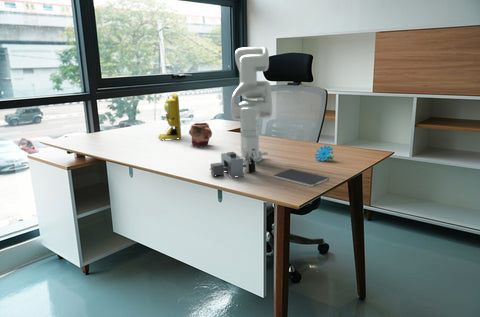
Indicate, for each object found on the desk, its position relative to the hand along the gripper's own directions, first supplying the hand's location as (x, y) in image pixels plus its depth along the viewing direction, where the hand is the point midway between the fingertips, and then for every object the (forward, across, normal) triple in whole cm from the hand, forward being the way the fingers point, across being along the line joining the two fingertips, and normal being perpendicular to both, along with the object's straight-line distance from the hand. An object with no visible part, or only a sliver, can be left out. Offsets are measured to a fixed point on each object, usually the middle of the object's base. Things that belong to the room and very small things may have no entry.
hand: (249, 169), depth 189 cm
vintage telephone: (+1, -103, -19) cm, 105 cm away
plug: (0, 0, -9) cm, 9 cm away
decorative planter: (+1, -66, -6) cm, 66 cm away
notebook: (+1, +21, +16) cm, 26 cm away
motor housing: (+1, 0, -9) cm, 9 cm away
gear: (+1, 0, +42) cm, 42 cm away
